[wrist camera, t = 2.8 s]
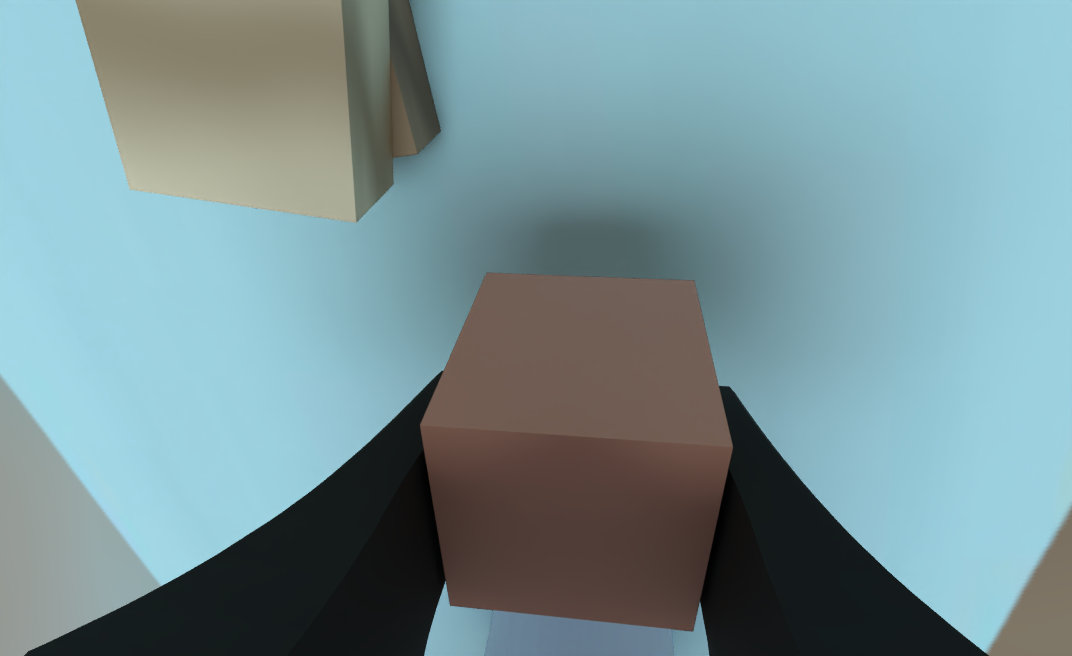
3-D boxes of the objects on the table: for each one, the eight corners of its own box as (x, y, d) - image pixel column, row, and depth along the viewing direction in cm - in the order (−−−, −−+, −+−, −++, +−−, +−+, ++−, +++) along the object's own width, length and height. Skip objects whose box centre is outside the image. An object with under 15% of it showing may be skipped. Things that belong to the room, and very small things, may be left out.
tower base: (443, 128, 16) (417, 154, 14) (281, 152, 17) (234, 180, 15) (390, -91, 13) (348, -100, 11) (202, -49, 14) (131, -49, 12)
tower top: (393, 184, 14) (356, 222, 12) (199, 156, 15) (130, 189, 12) (386, -56, 12) (337, -59, 10) (148, -87, 12) (48, -96, 10)
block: (672, 438, 13) (693, 630, 9) (497, 426, 14) (449, 605, 10) (694, 280, 11) (733, 446, 7) (486, 272, 11) (419, 425, 8)
